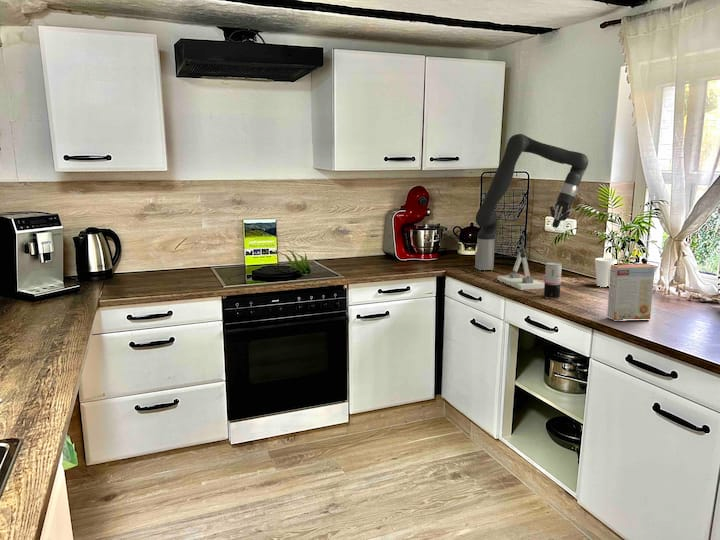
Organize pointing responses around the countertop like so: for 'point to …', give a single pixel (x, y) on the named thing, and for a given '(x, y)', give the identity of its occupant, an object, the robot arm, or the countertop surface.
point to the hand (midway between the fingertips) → (554, 227)
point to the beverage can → (552, 280)
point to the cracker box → (630, 291)
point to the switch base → (521, 281)
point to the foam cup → (603, 270)
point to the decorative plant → (299, 266)
